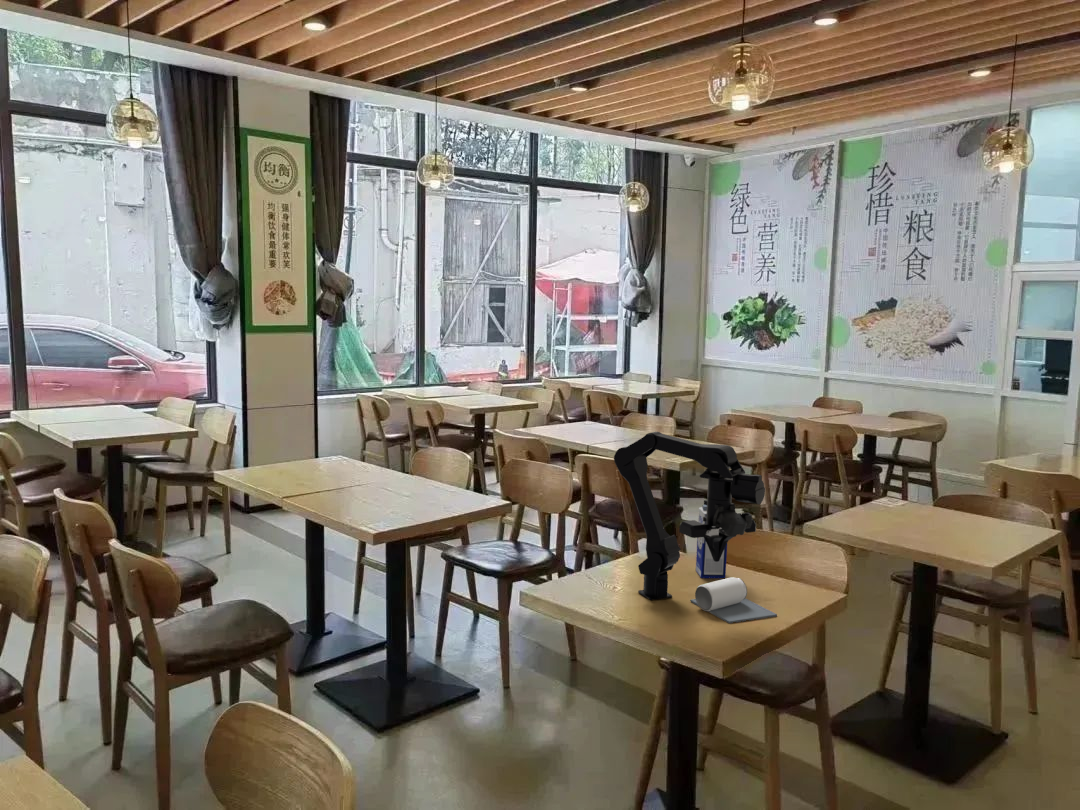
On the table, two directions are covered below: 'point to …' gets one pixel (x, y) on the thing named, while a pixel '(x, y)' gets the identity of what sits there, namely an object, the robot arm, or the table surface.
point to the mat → (741, 611)
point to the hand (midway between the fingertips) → (716, 561)
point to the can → (720, 593)
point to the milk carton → (708, 555)
